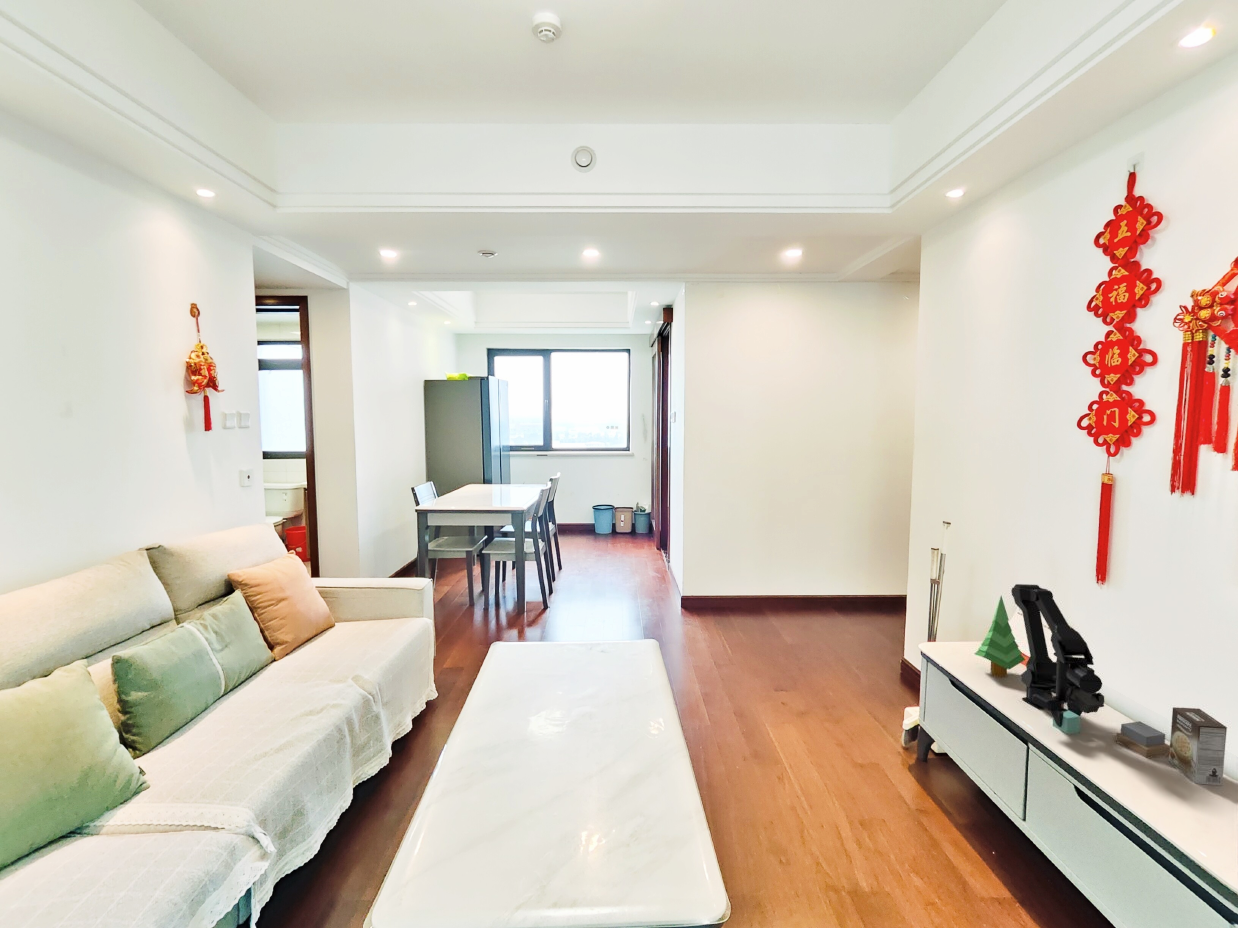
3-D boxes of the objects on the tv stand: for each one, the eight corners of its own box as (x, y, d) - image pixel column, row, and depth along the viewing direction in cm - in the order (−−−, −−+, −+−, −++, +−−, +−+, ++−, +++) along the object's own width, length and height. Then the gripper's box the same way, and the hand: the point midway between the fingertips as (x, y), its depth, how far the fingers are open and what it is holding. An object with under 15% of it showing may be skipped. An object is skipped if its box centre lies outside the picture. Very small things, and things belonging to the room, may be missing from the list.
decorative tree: (965, 669, 206) (967, 591, 204) (996, 662, 211) (999, 586, 208) (1000, 686, 193) (1003, 603, 191) (1032, 678, 198) (1036, 597, 195)
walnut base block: (1115, 742, 161) (1116, 732, 160) (1138, 739, 162) (1139, 729, 162) (1146, 759, 153) (1146, 749, 152) (1170, 755, 154) (1170, 745, 154)
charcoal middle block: (1120, 733, 160) (1121, 723, 160) (1139, 730, 161) (1140, 721, 161) (1145, 746, 154) (1146, 736, 153) (1164, 744, 155) (1165, 733, 154)
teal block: (1052, 725, 169) (1053, 710, 169) (1065, 723, 170) (1065, 708, 169) (1066, 733, 165) (1067, 718, 164) (1079, 732, 165) (1080, 716, 165)
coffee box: (1167, 761, 151) (1170, 705, 149) (1194, 763, 150) (1198, 707, 148) (1194, 783, 142) (1198, 724, 140) (1224, 786, 141) (1228, 726, 139)
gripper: (1067, 692, 156) (1064, 744, 158) (1122, 685, 159) (1119, 737, 161) (1032, 674, 167) (1030, 723, 169) (1084, 668, 170) (1082, 716, 172)
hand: (1066, 725), depth 167 cm, fingers closed on teal block, 4 cm apart
